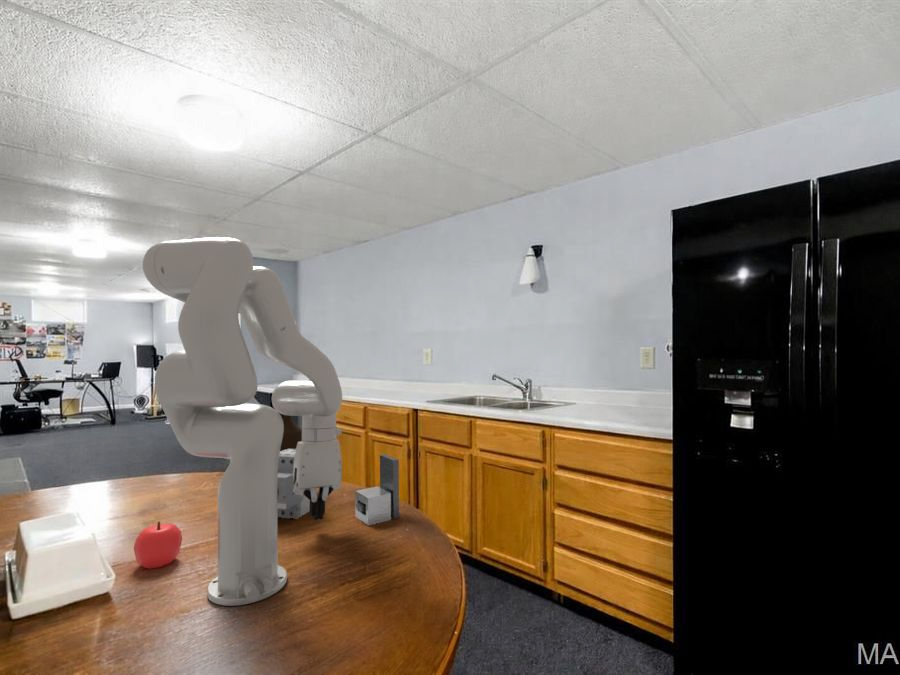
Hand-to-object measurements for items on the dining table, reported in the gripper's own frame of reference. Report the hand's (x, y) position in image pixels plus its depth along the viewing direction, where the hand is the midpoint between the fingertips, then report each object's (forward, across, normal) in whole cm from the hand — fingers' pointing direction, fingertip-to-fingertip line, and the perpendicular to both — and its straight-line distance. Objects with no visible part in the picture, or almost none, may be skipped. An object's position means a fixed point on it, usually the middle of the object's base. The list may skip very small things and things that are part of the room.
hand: (317, 518), depth 102 cm
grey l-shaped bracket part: (+3, -15, -1) cm, 15 cm away
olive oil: (+2, -2, -33) cm, 33 cm away
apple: (+5, +30, -5) cm, 30 cm away
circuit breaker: (+3, +3, -15) cm, 15 cm away
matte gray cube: (+3, -14, -1) cm, 14 cm away
